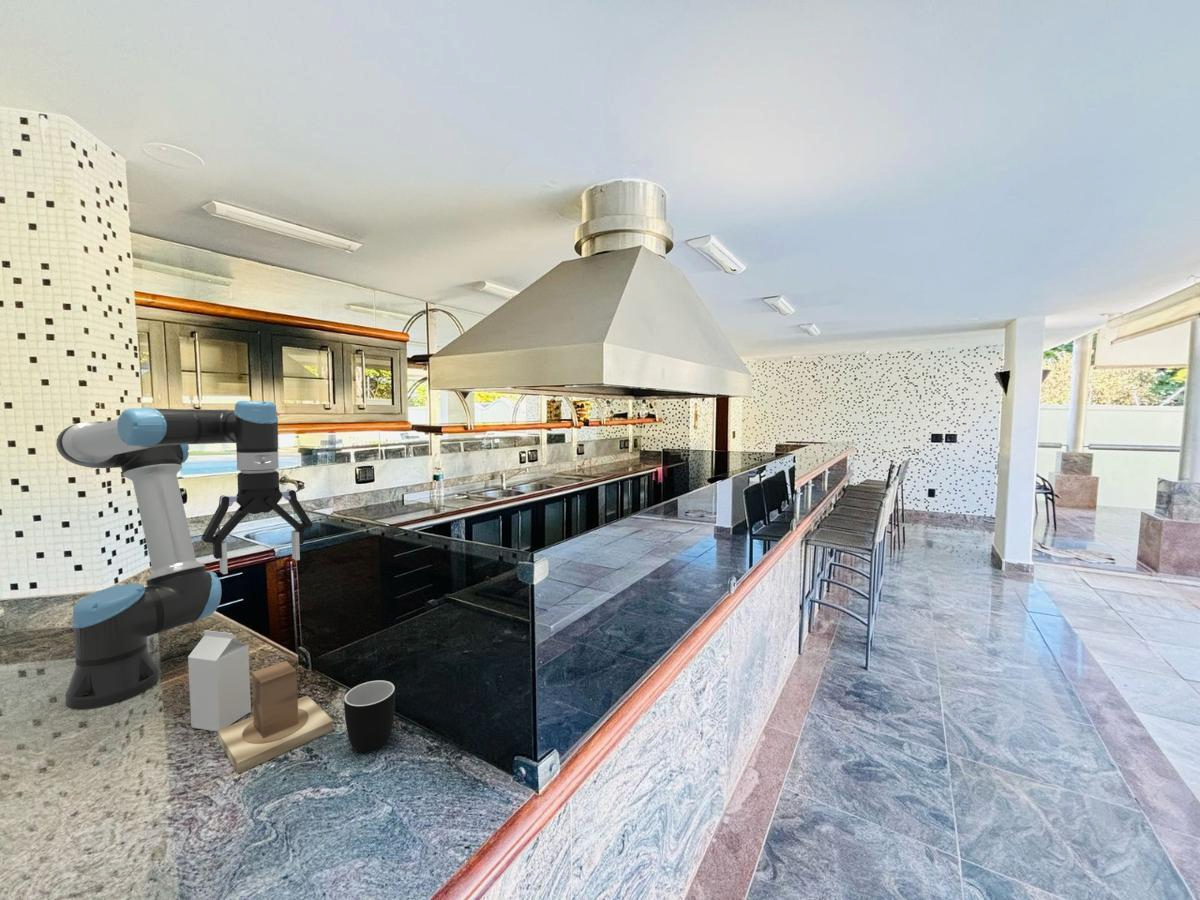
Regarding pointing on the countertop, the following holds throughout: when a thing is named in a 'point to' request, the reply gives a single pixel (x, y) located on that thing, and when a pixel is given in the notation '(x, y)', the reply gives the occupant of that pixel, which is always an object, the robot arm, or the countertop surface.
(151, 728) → the countertop surface
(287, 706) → the block
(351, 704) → the mug
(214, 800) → the countertop surface
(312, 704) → the board
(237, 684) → the milk carton
